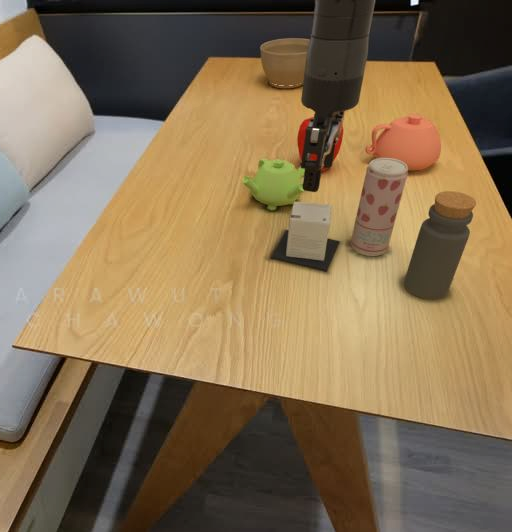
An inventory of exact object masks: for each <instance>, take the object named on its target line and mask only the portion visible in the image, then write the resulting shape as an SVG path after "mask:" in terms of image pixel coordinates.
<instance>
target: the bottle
mask: <svg viewBox="0 0 512 532" xmlns="http://www.w3.org/2000/svg"><path fill="white" fill-rule="evenodd" d="M476 205H477V201H476V199H475V198H474V197H473V196H471V195H469V194H466V193H464V192H459V191H452V190H451V191H450V190H447V191H446V190H445V191H441V192H439V193H437V194H436V195H435V197H434V204H432V205H431V206H430V207H429V209H428V218H426V219H425V220H423V221H422V222H421V225H420V228H419V231H418V234H417V237H416V241H415V245H414V247H413V250H412V254H411V256H410V259H409V260H410V261H409V263H408V266H407V270H406V273H405V276H404V281H403V286H404V288H405V289H406V290H407V291H408V292H409V293H410V294H411V295H413V296H416V297H418V298H421V299H426V300H439V299H443V298H444V297H445V296H447V295H448V293H449V291H450V288H451V285H452V283H453V280H454V277H455V274H456V272H457V269H458V267H459V264H460V261H461V260H462V256H463V255H464V252H465V249H466V246H467V243H468V241H469V237H470V235H471V230H470V229H469V225H470V224H471V223H472V220H473V218H474V212H473V210H474V208H475V207H476Z"/></svg>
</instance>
